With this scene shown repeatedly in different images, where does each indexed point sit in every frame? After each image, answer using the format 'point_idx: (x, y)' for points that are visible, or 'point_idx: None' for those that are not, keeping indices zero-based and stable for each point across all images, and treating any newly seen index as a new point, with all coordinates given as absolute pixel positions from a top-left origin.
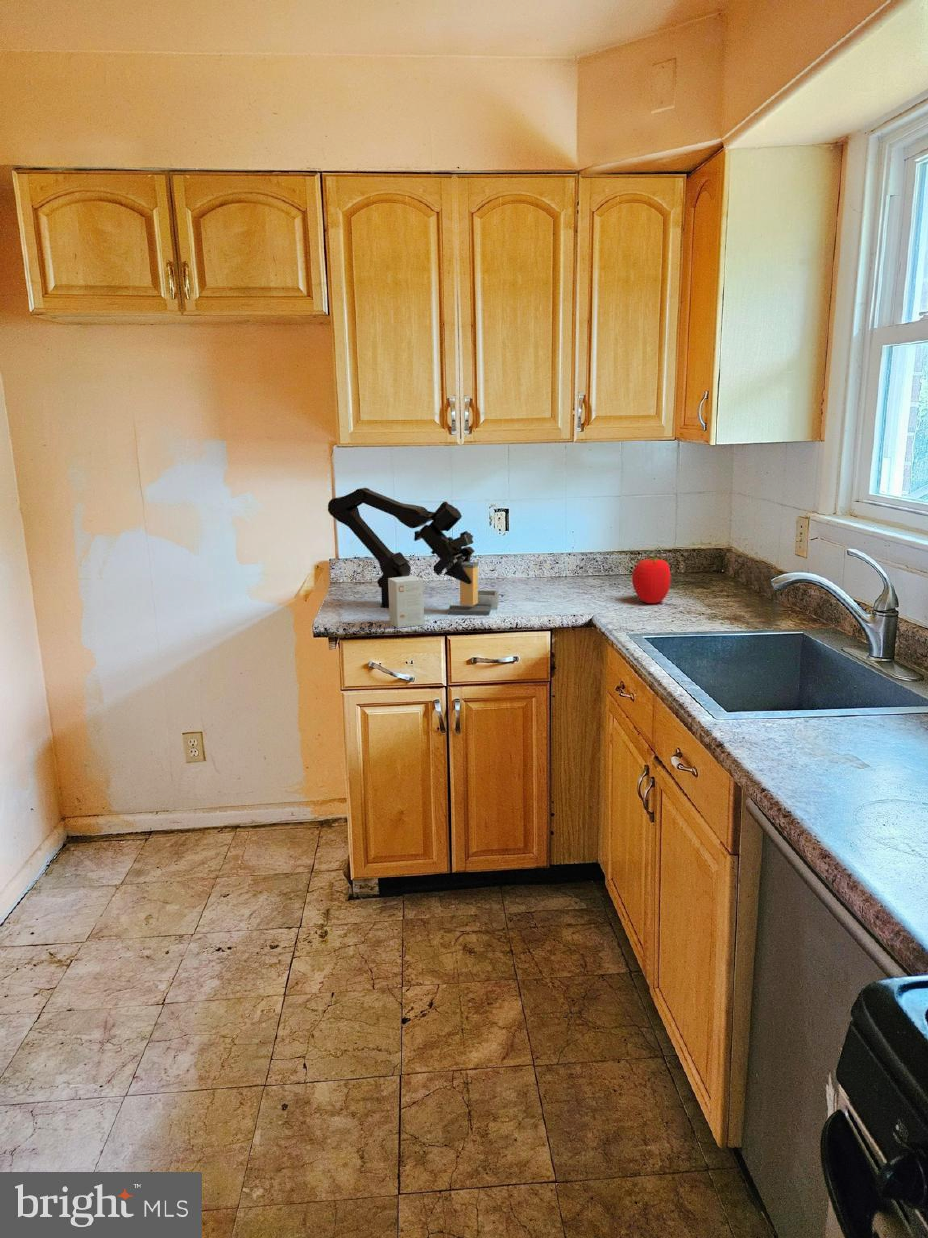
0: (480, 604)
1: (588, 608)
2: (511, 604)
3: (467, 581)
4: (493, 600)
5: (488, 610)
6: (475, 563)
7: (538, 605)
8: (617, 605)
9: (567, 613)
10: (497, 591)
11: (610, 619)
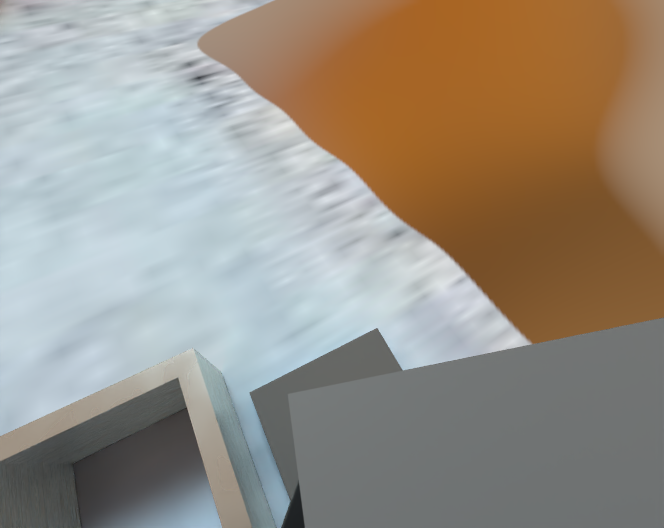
0: (251, 480)
1: (72, 77)
2: (63, 360)
3: None
4: (212, 379)
5: (363, 340)
6: (523, 374)
7: (58, 230)
8: (3, 35)
9: (176, 100)
10: (11, 438)
11: (207, 7)
